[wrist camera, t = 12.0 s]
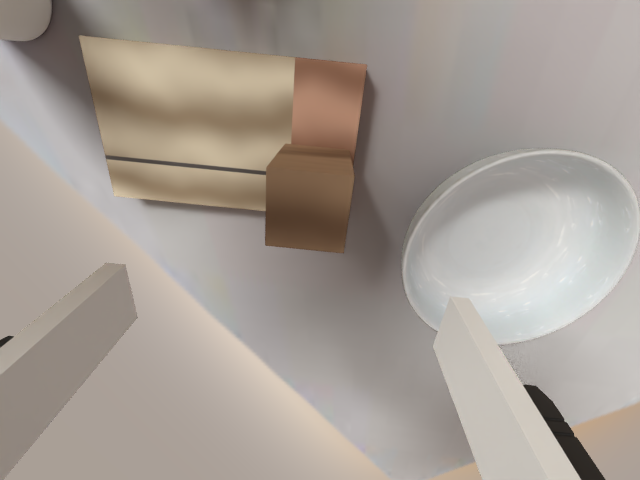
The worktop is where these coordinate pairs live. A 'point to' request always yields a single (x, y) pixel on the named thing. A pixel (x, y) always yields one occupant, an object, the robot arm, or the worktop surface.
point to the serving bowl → (522, 241)
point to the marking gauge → (308, 198)
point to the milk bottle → (24, 19)
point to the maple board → (213, 117)
